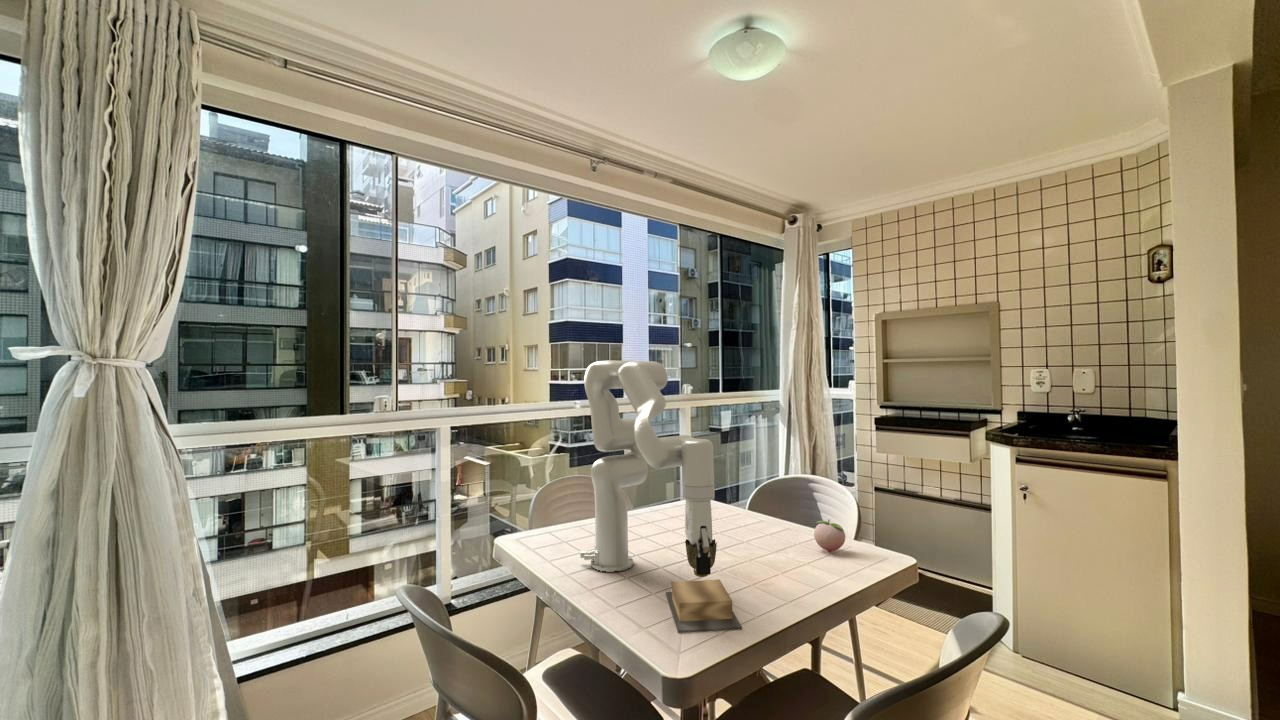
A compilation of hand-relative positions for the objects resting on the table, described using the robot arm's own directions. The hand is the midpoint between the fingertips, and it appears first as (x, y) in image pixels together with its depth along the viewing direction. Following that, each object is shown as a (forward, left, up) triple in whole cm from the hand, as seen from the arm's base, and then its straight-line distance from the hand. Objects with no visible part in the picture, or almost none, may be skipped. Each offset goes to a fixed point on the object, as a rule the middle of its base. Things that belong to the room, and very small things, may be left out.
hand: (700, 567), depth 121 cm
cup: (0, 0, -2) cm, 2 cm away
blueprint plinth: (0, 0, -10) cm, 10 cm away
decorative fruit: (+47, +34, -10) cm, 59 cm away
